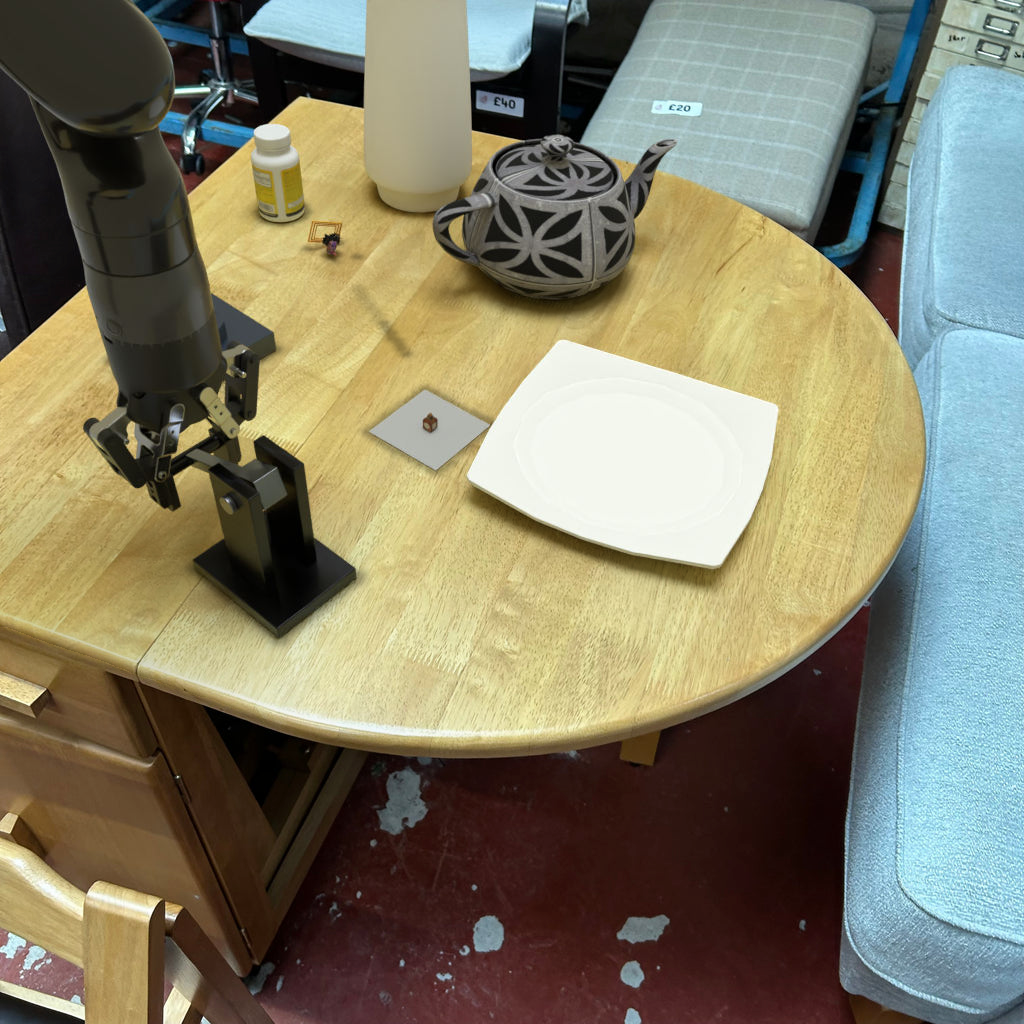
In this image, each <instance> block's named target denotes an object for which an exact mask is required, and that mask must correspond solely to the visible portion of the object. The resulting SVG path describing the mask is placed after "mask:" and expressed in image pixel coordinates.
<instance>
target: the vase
mask: <svg viewBox="0 0 1024 1024" xmlns="http://www.w3.org/2000/svg"><path fill="white" fill-rule="evenodd" d="M468 23H469V22H468V8H467V0H366V7H365V38H364V39H365V40H364V41H365V43H364V75H363V76H364V78H363V79H364V81H363V164H364V165H363V166H364V170H365V173H366V175H367V176H368V178H370V180H371V181H372V182H373V183H375V184H376V187H377V192H378V195H379V197H380V199H381V200H382V201H383V202H384V203H385V204H386V205H388V206H390V207H391V208H394V209H396V210H399V211H402V212H408V213H418V214H419V213H421V214H422V213H423V214H424V213H433V212H437V211H438V210H439V209H440V208H441V207H443V206H445V205H447V204H449V203H451V202H454V201H457V200H458V197H459V193H460V188H461V186H462V185H463V184H464V183H466V181H467V180H468V179H469V178H470V175H471V174H472V167H473V136H472V135H473V134H472V133H473V128H472V125H473V124H472V99H471V98H472V97H471V93H472V92H471V71H470V68H471V67H470V50H469V49H470V47H469V45H470V44H469V26H468V25H469V24H468Z"/></svg>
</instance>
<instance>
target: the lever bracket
mask: <svg viewBox="0 0 1024 1024" xmlns="http://www.w3.org/2000/svg"><path fill="white" fill-rule="evenodd" d="M252 444H253V447H254V453H255V459H257V460H260V461H262V462H265V463H267V464H270V465H273V466H275V467H277V468H278V470H279V473H280V475H281V478H282V480H283V483H284V486H285V488H286V491H287V493H288V495H287V496H285V497H284V498H282V499H281V500H279V501H278V502H276V503H275V504H273V505H272V506H270V507H269V508H267V509H266V510H263V508H262V502H261V497H260V493H259V492H258V491H257V490H255V489H254V488H253V487H251V486H250V485H249V484H247V483H246V482H245V481H243V480H242V479H241V478H239V477H238V476H236V475H235V474H234V473H232V472H231V471H230V470H228V469H227V468H226V467H224V466H223V465H222V464H220V463H217V464H216V465H214V466H212V467H211V468H209V469H208V472H209V473H208V476H209V480H210V485H211V489H212V493H213V498H214V502H215V505H216V510H217V514H218V518H219V522H220V528H221V531H222V536H223V538H222V539H221V540H219V541H218V542H216V543H214V544H213V545H211V546H210V547H209V548H207V549H205V550H204V551H202V552H201V553H200V554H198V555H197V556H195V557H193V559H192V563H193V567H194V569H195V570H196V571H197V573H199V574H200V575H202V576H203V577H204V578H206V580H208V581H209V582H210V583H211V584H212V585H214V586H215V587H216V588H217V589H219V590H220V591H221V592H222V593H223V594H225V595H226V596H227V597H228V598H230V599H231V600H232V601H233V602H234V603H236V604H237V605H238V606H240V607H241V609H243V610H244V611H245V612H246V613H248V614H249V615H251V616H252V617H253V618H254V619H255V620H257V621H258V622H259V623H260V624H261V625H262V626H263V627H265V628H266V629H267V630H269V631H270V632H271V633H272V634H273V635H275V636H276V638H278V639H280V638H281V637H283V636H284V635H285V634H287V633H288V632H289V631H290V630H291V629H293V628H294V627H296V626H297V625H298V624H299V623H300V622H302V621H303V620H304V619H306V618H307V617H308V616H310V615H311V614H312V613H313V612H315V611H316V610H318V609H319V608H320V607H321V606H322V605H324V604H325V603H326V602H328V601H329V600H330V599H331V598H333V597H334V596H335V595H336V594H338V593H339V592H341V590H343V589H344V588H345V587H347V586H348V585H349V584H351V583H352V582H353V581H354V580H355V579H357V569H356V567H355V566H353V564H350V562H348V561H346V560H345V559H344V558H343V557H341V556H340V555H338V554H337V553H336V552H334V551H333V550H332V549H330V548H329V547H328V546H326V545H325V544H324V543H323V542H321V541H319V540H318V539H317V538H315V535H314V528H313V521H312V520H313V519H312V512H311V505H310V496H309V492H308V491H309V490H308V484H307V483H308V482H307V476H306V475H307V474H306V468H305V463H304V462H303V461H301V460H300V459H298V458H297V457H296V456H294V455H293V454H291V453H290V452H289V451H287V450H286V449H284V448H283V447H282V446H280V445H279V444H278V443H276V442H274V441H273V440H271V439H270V438H269V437H267V436H266V435H264V434H263V435H261V436H259V437H257V438H256V439H255V440H253V443H252Z"/></svg>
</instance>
